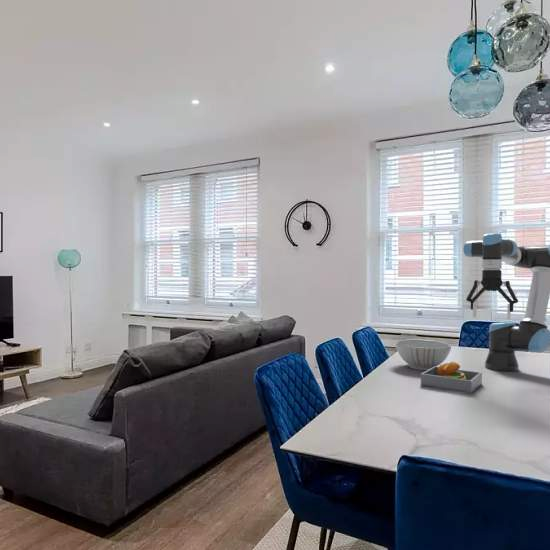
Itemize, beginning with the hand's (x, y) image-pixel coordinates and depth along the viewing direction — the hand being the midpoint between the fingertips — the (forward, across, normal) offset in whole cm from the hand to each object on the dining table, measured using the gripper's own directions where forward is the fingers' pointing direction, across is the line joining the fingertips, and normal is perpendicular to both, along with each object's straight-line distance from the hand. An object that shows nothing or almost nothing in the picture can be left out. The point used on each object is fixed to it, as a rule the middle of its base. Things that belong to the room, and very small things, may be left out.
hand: (491, 318), depth 193 cm
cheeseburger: (+27, -12, -15) cm, 33 cm away
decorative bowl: (+28, -34, +12) cm, 46 cm away
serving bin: (+28, -12, -15) cm, 34 cm away
